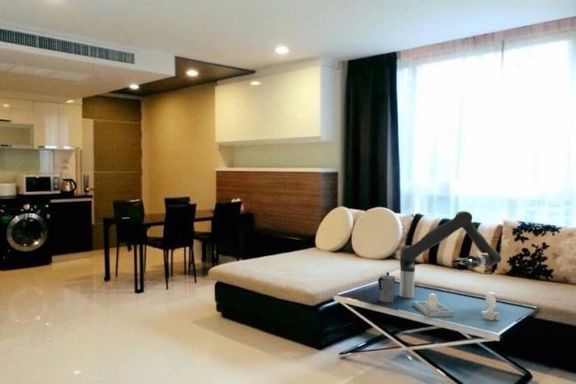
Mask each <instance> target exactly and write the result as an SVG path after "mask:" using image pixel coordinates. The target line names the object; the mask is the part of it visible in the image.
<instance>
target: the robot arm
mask: <svg viewBox="0 0 576 384" xmlns="http://www.w3.org/2000/svg"><path fill="white" fill-rule="evenodd" d="M472 221H473V216H472V214H471V212H469V211H467V210H466V211H465V210H461V211H458V212H457V213H456V214H455V216H454V217H453V218H452V219H451V220H449V221H447V222H445V223H442V224H441V225H437V227H435V228H432V229H431V230H430V231H428V232H427V233H426V234H424V236H423V237H422V238H420V239H419V240H418V241H417V242H416V243H414V244H412V245H405V246H403V247H402V248H401V250H400V254H399V255H400V257H399V258H400V259H399V264H400V266H399V267H400V275H399V297H401V298H407V299H411V298H414V297H415V296H414V295H415V279H416V278H415V275H416V273H415V272H416V266H415V260H416V258H419V256H421V255H422V254H423V253H424V252H426V251H427V250H429V249H430V248H432V247H434V246H436V245H438V244H439V243H441V242H442V241H444V240H446V239H447V238H448V237H450V236H451V235H452V234H454V233H455V232H456V231H458V230H459V229H460V230H461V228H462V229H463V230H464V231H465V233H466V234H468V235H467V236H469V238H470V239H471V240H472V242H473V243H474V245H475V246H476V248H477V249H478V251H479V253H481V254H473V255H468V256H467V257H465V258H464V257H463V258H462V257H457V258H454V259H453V260H452V264H460V265H464V267H469V268H472V269H473V268H480V267H490V266H495V265H497V264H500V263H501V261H502V256H501V254H500V253H499V252H498V251H497V250H495V249H494V247H492V246H491V245H490V244H489V242H488V241H487V240H486V238H485V237H484V236H483V234H481V233H480V232H479V230H478V229H477V228H476V227H475V225H474V223H473V222H472Z"/></svg>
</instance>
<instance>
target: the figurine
mask: <svg viewBox="0 0 576 384" xmlns="http://www.w3.org/2000/svg"><path fill="white" fill-rule="evenodd" d="M485 304H486V305H487V309H486V310H483V311H480V312H481V314H482V316H483V318H485V320H488V319H489V320H488V321H493V320H496V319H497V317H498V315H500V312H498V311H494V308H496V306H497V300H496V298H495V293H494V292H491V291H488V294H485Z"/></svg>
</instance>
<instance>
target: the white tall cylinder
mask: <svg viewBox="0 0 576 384" xmlns="http://www.w3.org/2000/svg"><path fill="white" fill-rule="evenodd" d="M427 298H428V299H427V301H428V311H429V312H437V302H438V297H437V294H435V293H433V292H432V293H429V295H428V296H427Z"/></svg>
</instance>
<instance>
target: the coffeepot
mask: <svg viewBox="0 0 576 384" xmlns="http://www.w3.org/2000/svg"><path fill="white" fill-rule="evenodd" d="M395 281H396V276H393V275H390V272H388V271H387V272H386V274H385V275H384V274H383V275H381V276H379V278H378V281H377V283H378V288H379V291H380V295H379V301H380V302H383V303H393V302H395V297H394V291H393V288H394V285H395Z"/></svg>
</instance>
